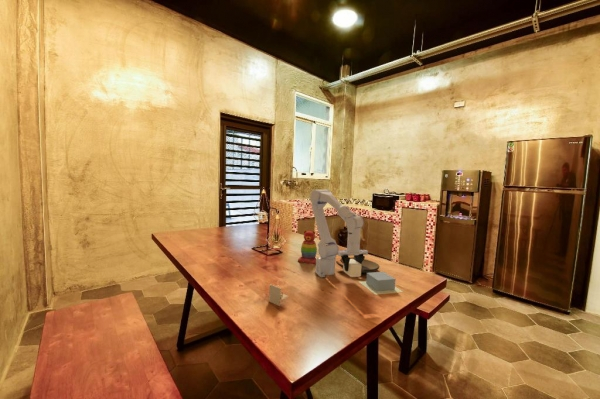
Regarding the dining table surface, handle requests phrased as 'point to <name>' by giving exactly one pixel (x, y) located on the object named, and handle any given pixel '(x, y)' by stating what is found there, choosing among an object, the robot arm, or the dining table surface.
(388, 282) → the blue base brick
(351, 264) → the cream brick
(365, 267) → the dark shallow pan
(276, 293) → the grey tabbed plate
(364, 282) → the baseplate
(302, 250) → the stacking bear
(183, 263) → the dining table surface
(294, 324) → the dining table surface
